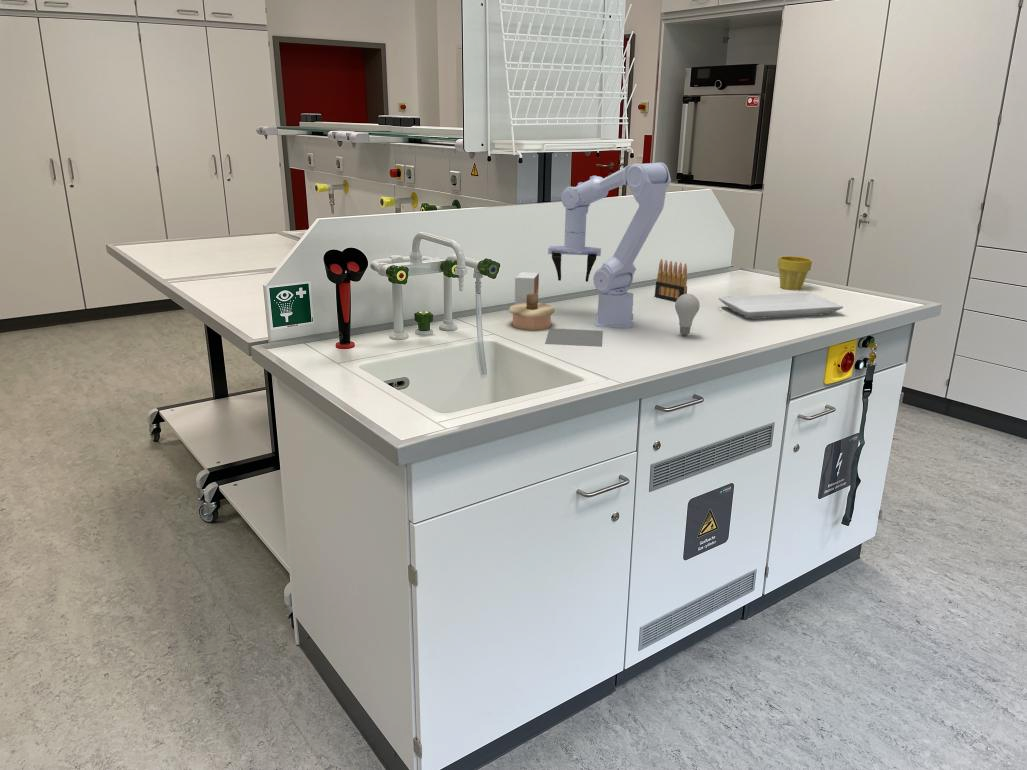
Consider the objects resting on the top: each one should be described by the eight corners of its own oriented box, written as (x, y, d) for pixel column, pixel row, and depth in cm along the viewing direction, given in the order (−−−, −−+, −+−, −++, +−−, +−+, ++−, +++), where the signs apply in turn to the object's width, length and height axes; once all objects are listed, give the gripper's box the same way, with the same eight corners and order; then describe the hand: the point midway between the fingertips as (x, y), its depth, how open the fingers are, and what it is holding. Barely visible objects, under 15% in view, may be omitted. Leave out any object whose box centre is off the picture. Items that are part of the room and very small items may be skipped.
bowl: (551, 321, 208) (552, 307, 206) (548, 331, 198) (549, 316, 197) (515, 319, 209) (515, 305, 207) (510, 329, 199) (511, 314, 198)
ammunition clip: (686, 302, 230) (690, 263, 226) (682, 303, 228) (686, 264, 224) (657, 296, 237) (660, 258, 233) (654, 297, 236) (657, 258, 232)
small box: (533, 315, 214) (534, 278, 210) (514, 314, 215) (514, 277, 211) (538, 308, 221) (539, 272, 217) (519, 307, 222) (520, 271, 218)
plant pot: (812, 287, 251) (816, 258, 248) (801, 293, 244) (806, 262, 240) (781, 283, 257) (785, 254, 254) (770, 288, 250) (773, 258, 246)
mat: (602, 331, 199) (602, 330, 198) (602, 347, 186) (602, 346, 185) (549, 329, 200) (549, 328, 200) (544, 344, 187) (544, 343, 187)
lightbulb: (682, 340, 192) (686, 297, 189) (667, 334, 197) (671, 292, 194) (701, 337, 195) (705, 295, 191) (686, 331, 200) (689, 290, 196)
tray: (843, 317, 217) (845, 305, 216) (745, 323, 210) (746, 310, 209) (808, 303, 233) (810, 292, 232) (715, 308, 225) (716, 296, 224)
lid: (562, 309, 204) (562, 293, 202) (541, 319, 194) (541, 302, 193) (523, 303, 210) (523, 288, 208) (500, 312, 200) (501, 296, 198)
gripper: (602, 230, 211) (599, 278, 216) (550, 228, 213) (548, 276, 218) (601, 234, 205) (599, 283, 209) (548, 232, 206) (546, 281, 211)
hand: (573, 280), depth 213 cm, fingers open, 7 cm apart
